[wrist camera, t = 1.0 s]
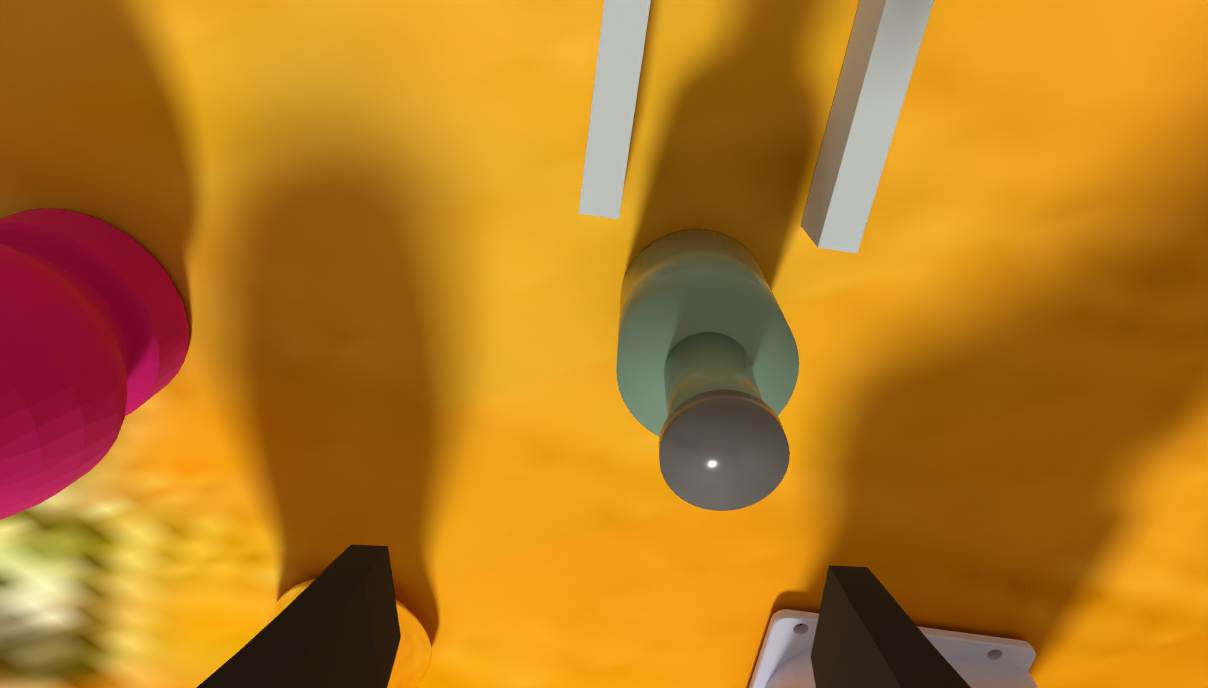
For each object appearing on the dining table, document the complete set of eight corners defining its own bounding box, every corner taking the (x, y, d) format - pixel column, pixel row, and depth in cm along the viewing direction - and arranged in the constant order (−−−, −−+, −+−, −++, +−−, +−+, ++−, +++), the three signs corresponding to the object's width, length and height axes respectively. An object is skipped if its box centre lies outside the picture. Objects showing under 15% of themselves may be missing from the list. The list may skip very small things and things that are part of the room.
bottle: (781, 240, 19) (868, 376, 12) (748, 372, 21) (805, 559, 14) (632, 219, 19) (629, 342, 12) (611, 353, 21) (597, 531, 14)
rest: (957, -192, 15) (1000, -220, 13) (836, 230, 19) (857, 253, 17) (637, -242, 15) (637, -277, 13) (584, 194, 19) (578, 213, 17)
